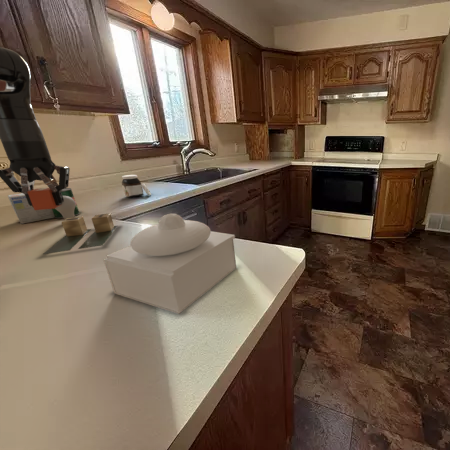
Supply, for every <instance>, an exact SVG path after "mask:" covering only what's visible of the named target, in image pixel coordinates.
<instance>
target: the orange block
mask: <svg viewBox="0 0 450 450" xmlns="http://www.w3.org/2000/svg"><path fill="white" fill-rule="evenodd" d="M28 195H29V197H30V200H31V202H32V205H33V207H34V210H43V209H54V208H57V207H59V206H61V205H59V206H56V204H55V201H54V198H53V195H52V191H51V190H50V188H49V187H39V188H34V190H31V191H28Z"/></svg>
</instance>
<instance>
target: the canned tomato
mask: <svg viewBox="0 0 450 450" xmlns="http://www.w3.org/2000/svg"><path fill="white" fill-rule="evenodd" d="M61 193H62V196H69V197H71V198H72V199H74V201H75V203H76V206H75V209H74V215H75V217H77V216H80V214H81V213H80V210H79V208H78V207H79V206H78V204H77V201H76V199H75V196H74V193H73V191H72V188H71V187H67V188H65V189H62V190H61ZM52 210H53V213H54V216H55V217H54V218H55V219H64V218H63V216H62V214H61V213H60V212H59V211H57V210H56V209H55V208H54V209H52Z"/></svg>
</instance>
